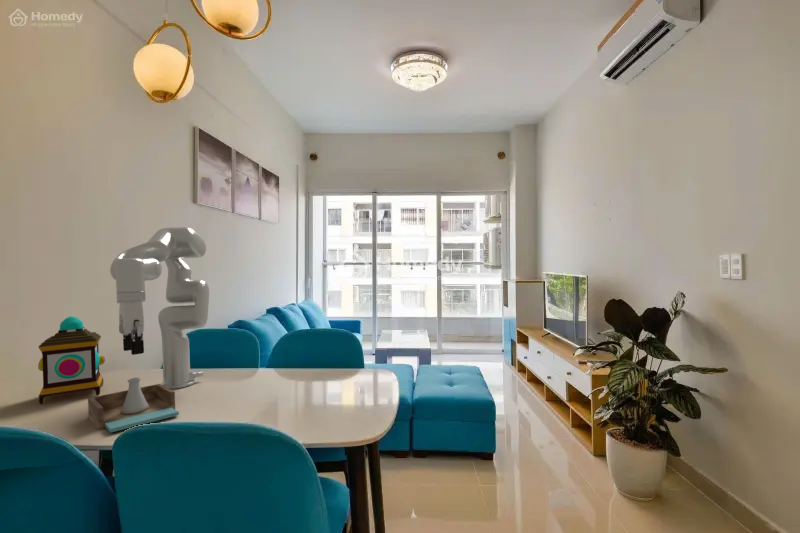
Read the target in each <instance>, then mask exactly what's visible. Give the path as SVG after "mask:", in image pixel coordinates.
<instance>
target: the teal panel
mask: <svg viewBox="0 0 800 533" xmlns="http://www.w3.org/2000/svg"><path fill="white" fill-rule="evenodd" d="M179 414H180V413H179V410H177V409H176V408H175V409H173V408H171V407H169V408H165V409H161V410H157V411H153V412H149V413H145V414H140V415H136V416H132V417H128V418H124V419H120V420H116V421H112V422H108V423H105V427H106V428H105V429H106V430H107V431H108V432H109V433H115V432H118V431H123V430H127V429H130V428H134V427H137V426H136V425H138V426H141V424H142V425H144V424H150V423H153V422H157V421H160V420H164V419H168V418H172V417H175V416H176V417H177V416H179ZM133 426H134V427H133Z"/></svg>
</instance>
